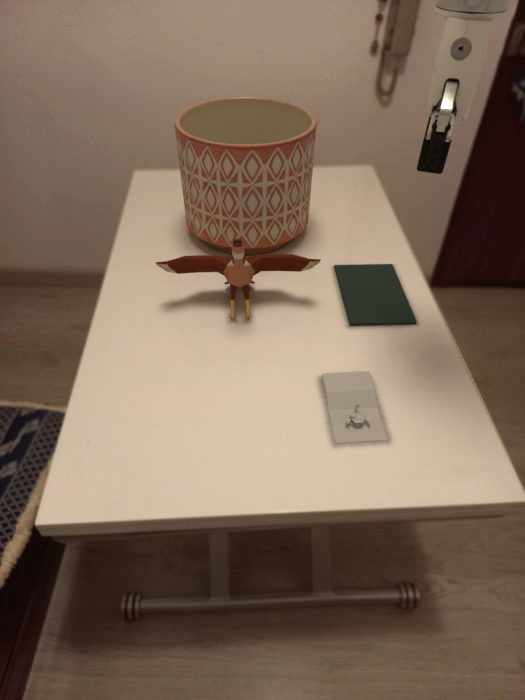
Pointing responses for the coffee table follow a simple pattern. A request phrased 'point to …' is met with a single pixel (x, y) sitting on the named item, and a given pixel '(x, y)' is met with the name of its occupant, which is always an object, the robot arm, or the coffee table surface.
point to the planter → (246, 170)
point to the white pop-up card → (353, 407)
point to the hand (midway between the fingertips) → (432, 156)
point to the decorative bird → (238, 267)
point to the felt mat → (373, 295)
